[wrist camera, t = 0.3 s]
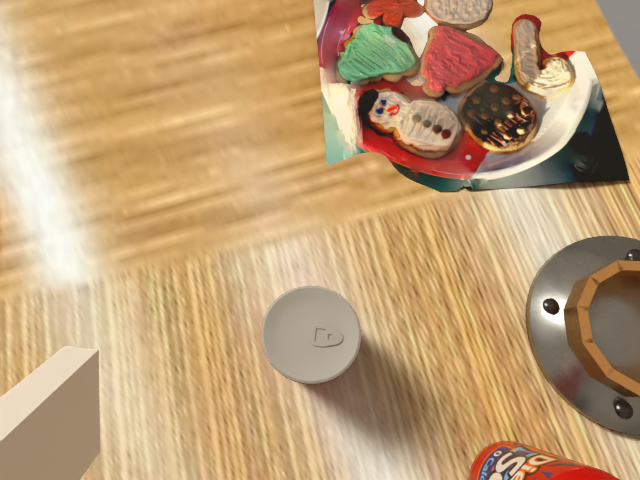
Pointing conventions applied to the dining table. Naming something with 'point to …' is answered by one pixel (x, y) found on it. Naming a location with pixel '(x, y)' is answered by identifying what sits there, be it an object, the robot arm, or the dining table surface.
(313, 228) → the dining table surface
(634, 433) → the bolted flange plate
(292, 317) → the canned food
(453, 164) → the colorful printed placemat
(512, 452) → the soda can
